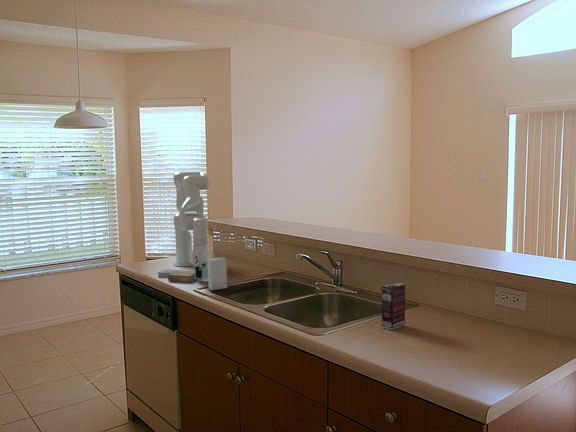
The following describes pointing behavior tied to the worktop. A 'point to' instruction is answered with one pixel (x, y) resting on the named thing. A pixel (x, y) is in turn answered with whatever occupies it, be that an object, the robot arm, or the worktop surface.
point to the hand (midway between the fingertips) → (201, 276)
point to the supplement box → (393, 305)
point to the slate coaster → (166, 273)
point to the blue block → (203, 272)
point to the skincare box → (217, 273)
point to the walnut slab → (182, 276)
